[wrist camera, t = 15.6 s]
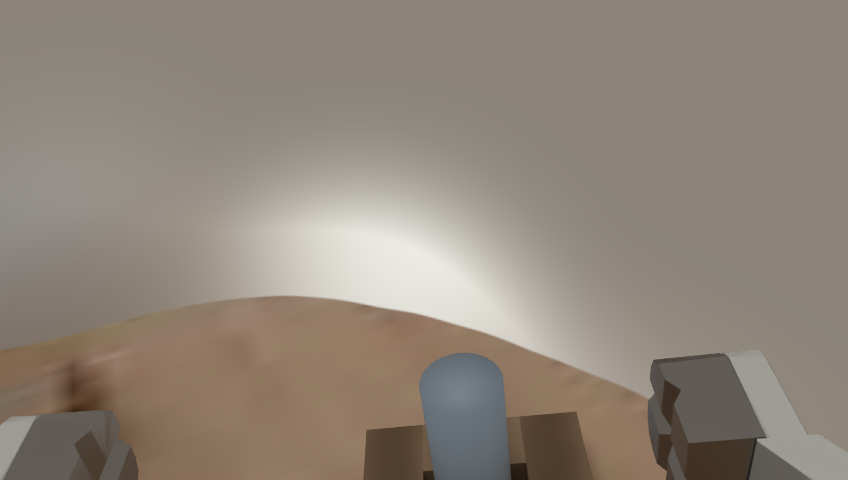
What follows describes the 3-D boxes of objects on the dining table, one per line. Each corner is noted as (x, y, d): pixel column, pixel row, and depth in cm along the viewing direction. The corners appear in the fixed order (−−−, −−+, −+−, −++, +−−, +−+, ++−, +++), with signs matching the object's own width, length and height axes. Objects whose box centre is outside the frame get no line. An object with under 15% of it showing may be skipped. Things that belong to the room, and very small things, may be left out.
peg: (433, 557, 45) (402, 387, 37) (479, 511, 47) (458, 341, 39) (485, 600, 42) (464, 427, 35) (531, 550, 45) (520, 376, 37)
